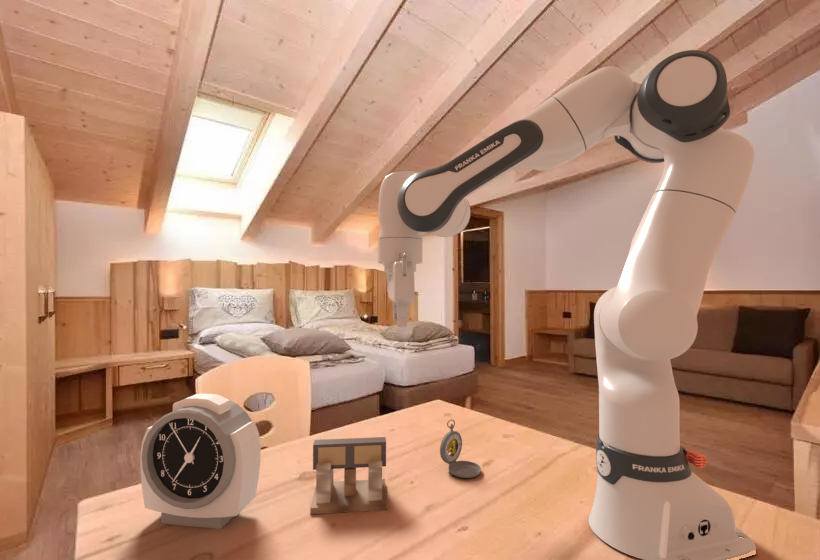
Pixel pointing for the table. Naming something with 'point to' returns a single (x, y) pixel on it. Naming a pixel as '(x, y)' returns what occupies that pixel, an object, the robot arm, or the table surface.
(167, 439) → the alarm clock
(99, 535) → the table surface
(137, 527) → the table surface
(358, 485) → the display stand
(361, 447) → the long grey beam
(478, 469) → the pocket watch
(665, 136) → the robot arm
